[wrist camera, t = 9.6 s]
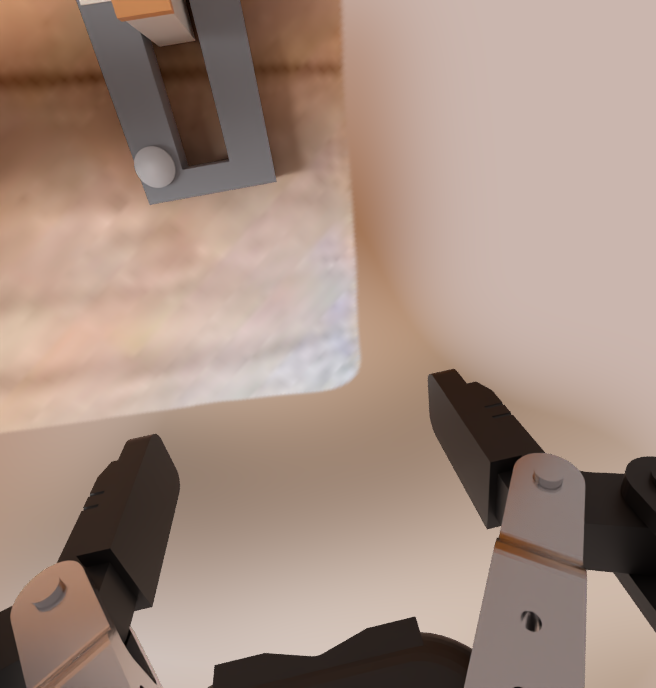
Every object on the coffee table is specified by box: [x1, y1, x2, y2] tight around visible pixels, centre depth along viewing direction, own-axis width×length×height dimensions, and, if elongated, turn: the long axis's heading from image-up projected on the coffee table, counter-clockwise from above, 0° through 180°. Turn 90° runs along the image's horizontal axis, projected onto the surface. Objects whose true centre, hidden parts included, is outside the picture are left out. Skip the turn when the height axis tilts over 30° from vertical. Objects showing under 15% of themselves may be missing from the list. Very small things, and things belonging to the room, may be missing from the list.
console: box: [76, 0, 277, 205], centre depth 28 cm, size 10×18×4 cm, turn 8°
